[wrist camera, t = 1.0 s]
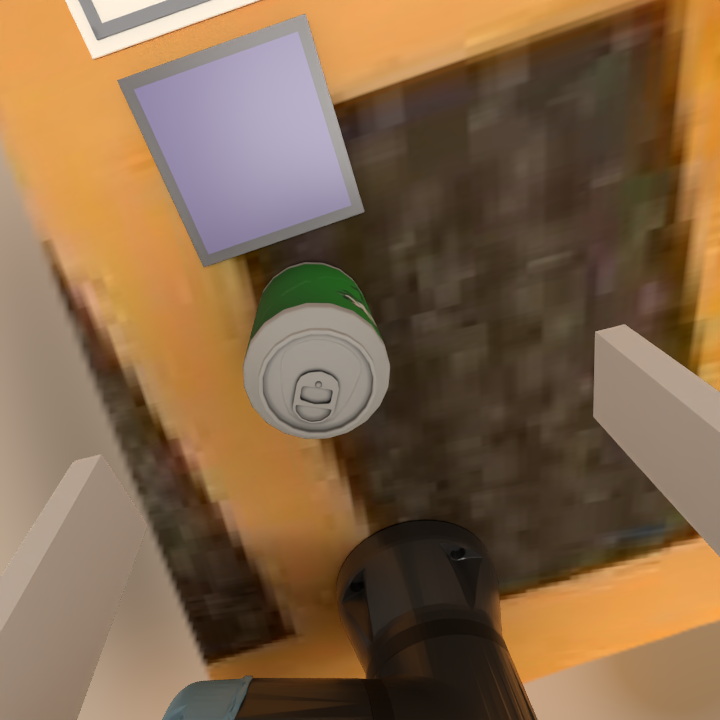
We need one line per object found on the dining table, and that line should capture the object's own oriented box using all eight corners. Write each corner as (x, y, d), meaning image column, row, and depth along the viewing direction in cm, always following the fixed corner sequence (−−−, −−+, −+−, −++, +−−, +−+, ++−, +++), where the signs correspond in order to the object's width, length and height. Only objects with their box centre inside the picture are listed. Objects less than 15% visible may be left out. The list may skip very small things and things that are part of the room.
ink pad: (362, 209, 32) (365, 212, 31) (207, 263, 32) (203, 268, 31) (305, 19, 27) (305, 12, 26) (124, 82, 28) (115, 79, 26)
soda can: (252, 350, 35) (231, 441, 24) (266, 248, 32) (250, 300, 21) (352, 365, 37) (375, 458, 26) (374, 269, 34) (410, 327, 23)
